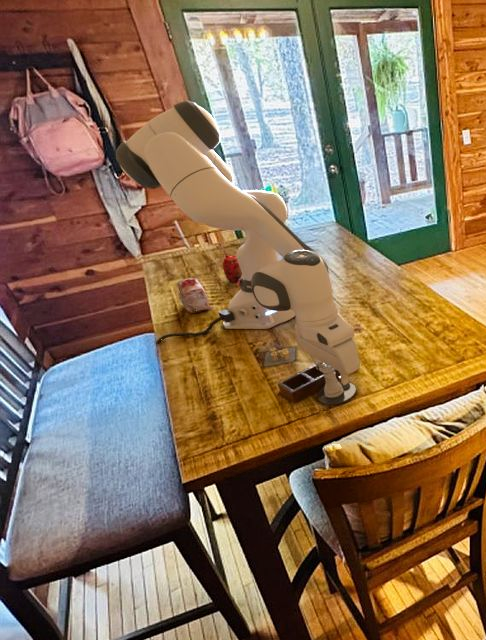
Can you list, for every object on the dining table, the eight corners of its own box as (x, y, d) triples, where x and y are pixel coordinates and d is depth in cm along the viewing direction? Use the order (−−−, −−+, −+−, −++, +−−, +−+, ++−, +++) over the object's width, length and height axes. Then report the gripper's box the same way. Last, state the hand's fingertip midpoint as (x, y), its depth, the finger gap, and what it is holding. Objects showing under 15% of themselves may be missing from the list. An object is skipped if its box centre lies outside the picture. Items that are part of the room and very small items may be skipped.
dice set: (290, 359, 134) (288, 353, 133) (270, 362, 133) (268, 356, 132) (290, 350, 138) (289, 344, 137) (271, 353, 137) (269, 348, 136)
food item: (214, 309, 165) (203, 282, 160) (188, 317, 161) (176, 289, 156) (205, 297, 174) (195, 271, 169) (180, 304, 170) (169, 277, 165)
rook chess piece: (326, 389, 120) (319, 361, 116) (345, 387, 120) (338, 359, 116) (323, 399, 116) (315, 371, 112) (342, 397, 116) (335, 369, 112)
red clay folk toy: (237, 283, 184) (223, 244, 176) (222, 282, 186) (208, 243, 178) (251, 275, 190) (238, 237, 182) (236, 274, 192) (224, 236, 184)
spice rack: (295, 403, 116) (291, 392, 115) (280, 393, 120) (277, 383, 119) (357, 369, 128) (355, 359, 126) (342, 361, 131) (340, 351, 130)
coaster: (314, 406, 115) (314, 405, 114) (322, 385, 122) (322, 383, 122) (353, 403, 115) (352, 401, 115) (358, 382, 122) (358, 380, 122)
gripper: (282, 317, 113) (297, 367, 120) (333, 343, 101) (347, 397, 108) (306, 307, 117) (319, 356, 124) (358, 331, 105) (370, 384, 112)
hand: (333, 376), depth 116 cm, fingers open, 8 cm apart
